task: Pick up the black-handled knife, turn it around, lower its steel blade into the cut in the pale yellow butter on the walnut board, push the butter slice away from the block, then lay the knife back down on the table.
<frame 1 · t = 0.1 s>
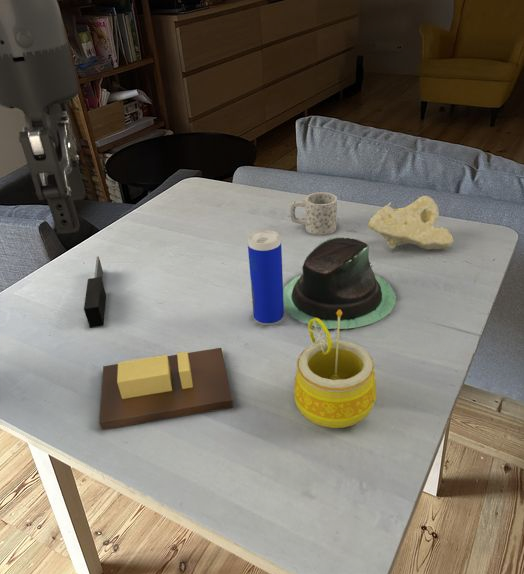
hand: (73, 214, 57), 29 cm above the table, tool pointing down, fingers open, 8 cm apart
beverage can: (268, 318, 91), on the table
mug 2: (313, 228, 117), on the table
cheese: (405, 250, 107), on the table
knife: (99, 296, 99), on the table
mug: (335, 401, 74), on the table
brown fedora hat: (337, 297, 95), on the table
butter block: (147, 384, 77), point 1 cm above the table, touching board
board: (166, 389, 78), on the table
butter slice: (186, 378, 77), point 1 cm above the table, touching board
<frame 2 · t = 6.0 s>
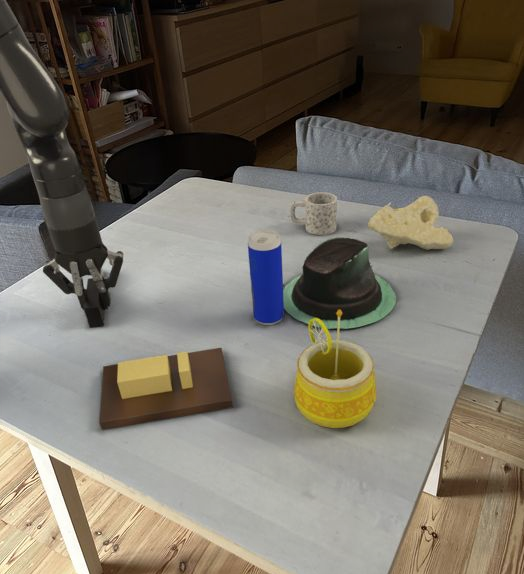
hand: (97, 308, 95), 1 cm above the table, tool pointing down, fingers closed on knife, 2 cm apart
knife: (99, 296, 99), on the table, touching gripper
everything else where it was.
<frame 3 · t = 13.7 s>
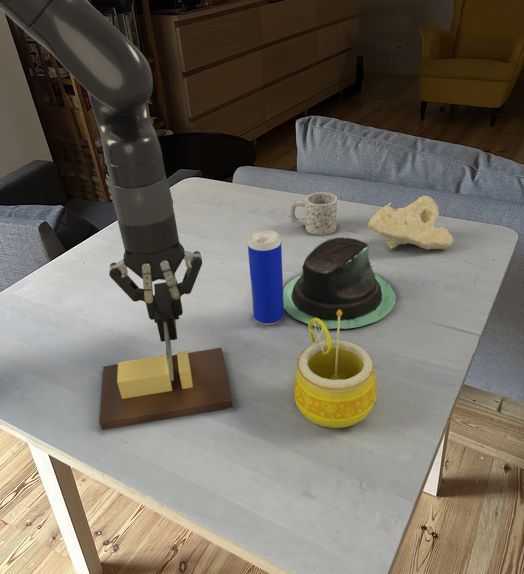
hand: (167, 317, 82), 6 cm above the table, tool pointing down, fingers closed on knife, 2 cm apart
knife: (169, 340, 78), point 6 cm above the table, touching gripper
everything else where it was.
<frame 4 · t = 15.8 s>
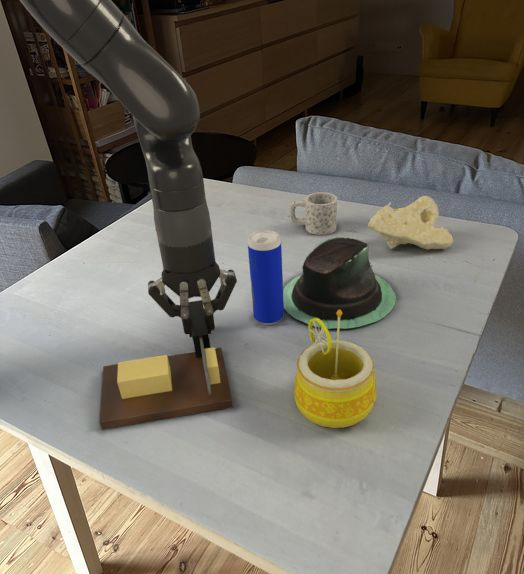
hand: (200, 332, 84), 2 cm above the table, tool pointing down, fingers closed on knife, 2 cm apart
knife: (204, 356, 81), point 2 cm above the table, touching gripper
butter slice: (213, 374, 78), point 1 cm above the table, touching board
everything else where it was.
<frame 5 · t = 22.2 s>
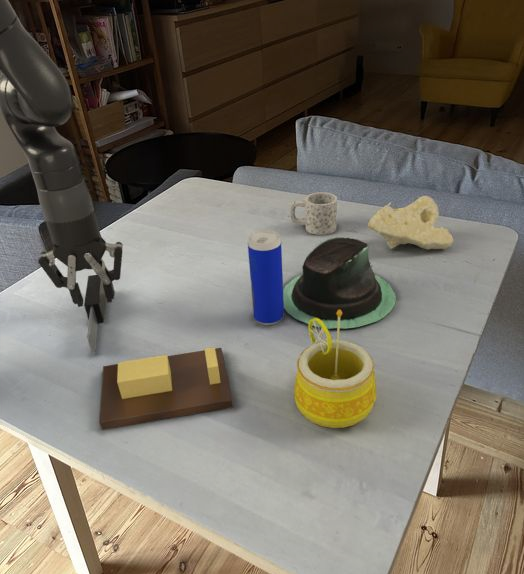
hand: (95, 301, 94), 2 cm above the table, tool pointing down, fingers open, 4 cm apart
knife: (97, 323, 92), on the table
everything else where it was.
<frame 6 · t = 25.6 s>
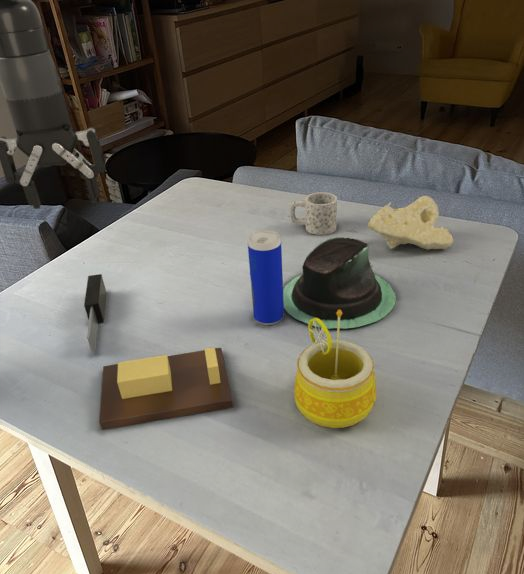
hand: (66, 203, 83), 20 cm above the table, tool pointing down, fingers open, 8 cm apart
nothing on the table moved.
at the end: butter slice 0.1 cm from the target spot on the board, point 1.5 cm above the board's base; butter block moved 0.0 cm from its start; the gripper is holding nothing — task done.
